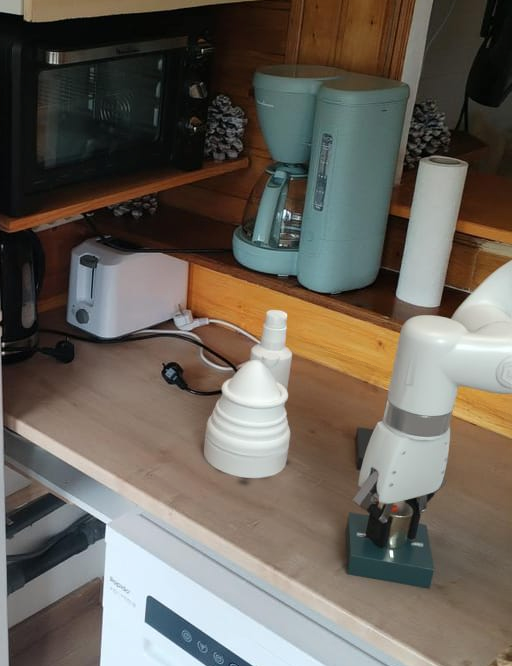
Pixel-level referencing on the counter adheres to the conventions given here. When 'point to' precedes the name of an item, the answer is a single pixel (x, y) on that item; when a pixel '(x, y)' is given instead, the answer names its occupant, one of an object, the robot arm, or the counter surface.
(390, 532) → the dial
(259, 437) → the honey pot
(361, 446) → the button base
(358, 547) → the dial panel
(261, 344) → the spray bottle
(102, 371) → the counter surface
